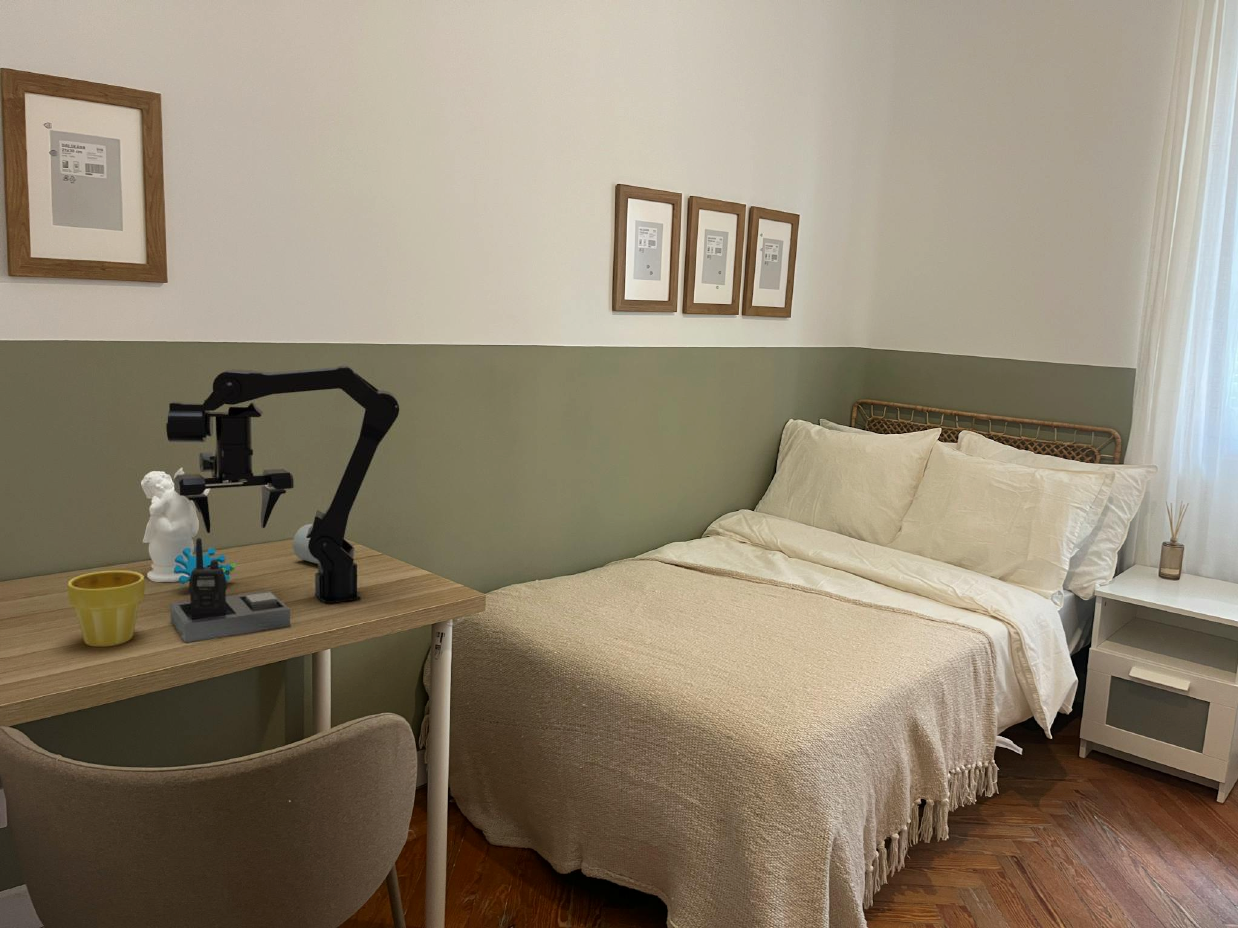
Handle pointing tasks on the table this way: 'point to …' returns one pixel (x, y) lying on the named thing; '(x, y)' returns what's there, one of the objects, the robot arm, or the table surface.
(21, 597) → the table surface
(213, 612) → the two-way radio
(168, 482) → the cherub figurine
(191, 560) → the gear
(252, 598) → the steel block
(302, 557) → the ceramic mug
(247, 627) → the grey charging dock
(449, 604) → the table surface
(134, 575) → the plant pot
